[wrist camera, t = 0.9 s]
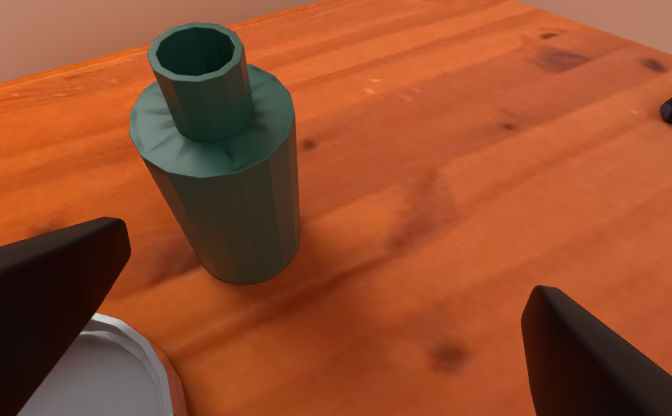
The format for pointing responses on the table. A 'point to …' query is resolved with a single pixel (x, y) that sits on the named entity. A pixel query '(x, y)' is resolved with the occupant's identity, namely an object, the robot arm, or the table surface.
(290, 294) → the table surface
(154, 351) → the dish
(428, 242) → the table surface
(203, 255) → the ink bottle
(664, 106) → the gaming controller
